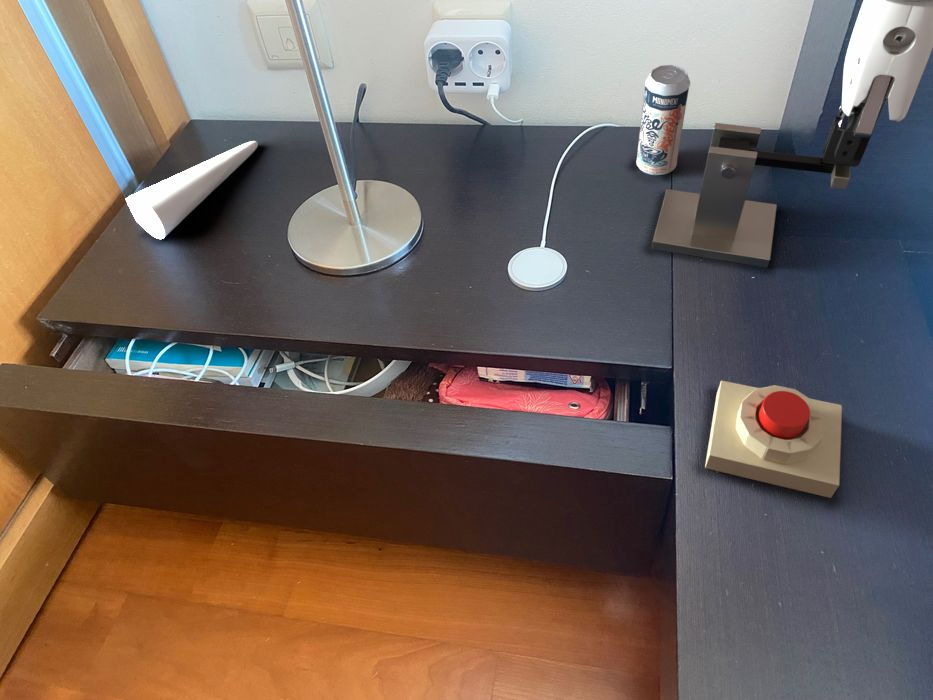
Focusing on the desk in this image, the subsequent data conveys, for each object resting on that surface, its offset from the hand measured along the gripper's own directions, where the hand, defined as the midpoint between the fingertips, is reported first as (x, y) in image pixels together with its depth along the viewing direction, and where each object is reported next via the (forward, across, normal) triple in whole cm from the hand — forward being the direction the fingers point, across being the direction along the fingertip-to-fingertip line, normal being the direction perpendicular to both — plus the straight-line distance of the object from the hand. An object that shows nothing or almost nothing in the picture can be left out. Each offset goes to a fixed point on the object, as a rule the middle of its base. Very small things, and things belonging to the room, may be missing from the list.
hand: (840, 159), depth 68 cm
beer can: (+11, +10, +18) cm, 23 cm away
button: (+7, -26, +2) cm, 27 cm away
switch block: (+11, -26, +2) cm, 28 cm away
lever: (+2, 0, +5) cm, 5 cm away
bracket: (+11, 0, +10) cm, 15 cm away
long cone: (+12, -7, +70) cm, 72 cm away
